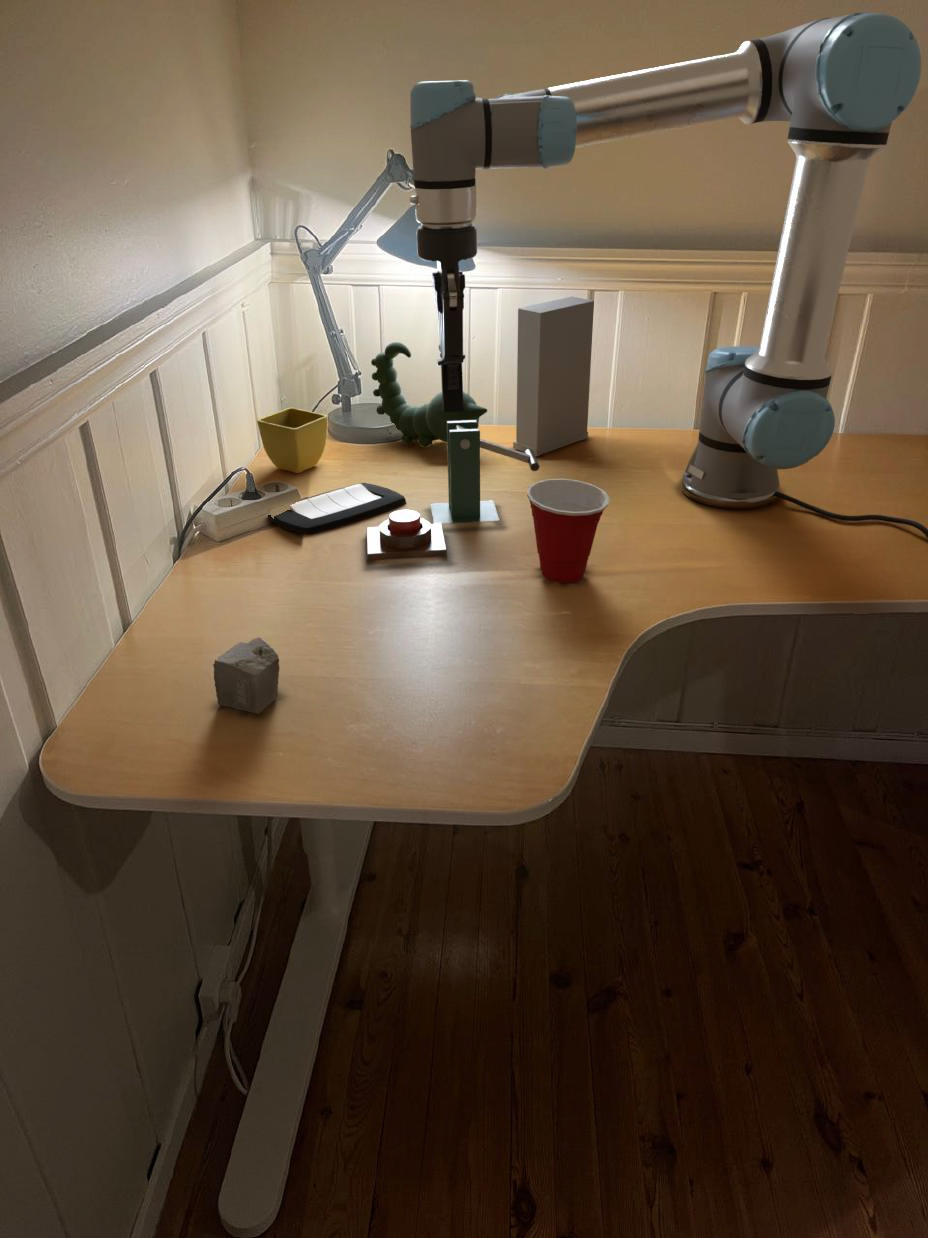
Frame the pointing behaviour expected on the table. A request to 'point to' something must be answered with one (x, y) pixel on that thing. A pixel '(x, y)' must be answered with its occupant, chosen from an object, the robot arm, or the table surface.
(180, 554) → the table surface
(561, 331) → the tall grey upright slab
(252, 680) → the mineral specimen
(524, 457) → the switch lever
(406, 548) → the button block
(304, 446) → the flower pot
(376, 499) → the light switch
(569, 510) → the plastic cup
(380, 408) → the toy figurine
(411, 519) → the button
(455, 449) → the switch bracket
